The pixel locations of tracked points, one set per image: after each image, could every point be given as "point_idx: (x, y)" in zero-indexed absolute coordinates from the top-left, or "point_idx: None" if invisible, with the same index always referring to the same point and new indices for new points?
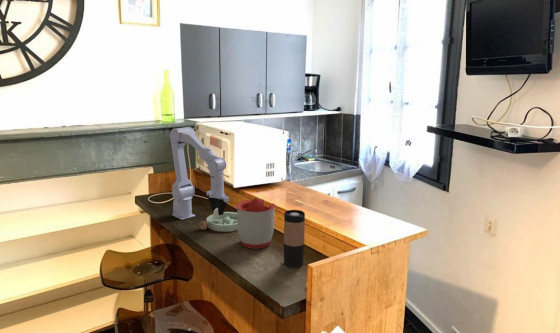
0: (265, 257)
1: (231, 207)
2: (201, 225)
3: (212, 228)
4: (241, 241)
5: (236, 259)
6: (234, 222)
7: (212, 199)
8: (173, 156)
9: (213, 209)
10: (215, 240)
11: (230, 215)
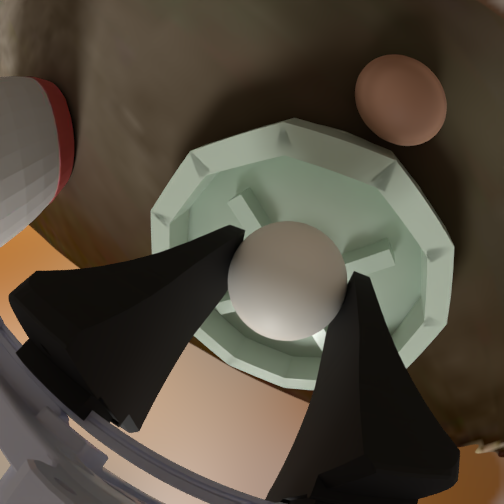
0: None
1: None
2: (389, 56)
3: (312, 123)
4: (34, 77)
5: (32, 9)
6: None
7: (326, 469)
8: None
9: (350, 303)
10: (164, 9)
11: None
